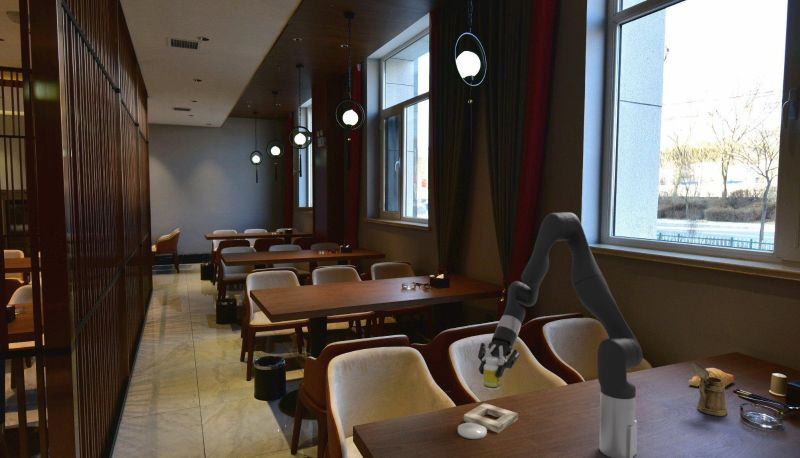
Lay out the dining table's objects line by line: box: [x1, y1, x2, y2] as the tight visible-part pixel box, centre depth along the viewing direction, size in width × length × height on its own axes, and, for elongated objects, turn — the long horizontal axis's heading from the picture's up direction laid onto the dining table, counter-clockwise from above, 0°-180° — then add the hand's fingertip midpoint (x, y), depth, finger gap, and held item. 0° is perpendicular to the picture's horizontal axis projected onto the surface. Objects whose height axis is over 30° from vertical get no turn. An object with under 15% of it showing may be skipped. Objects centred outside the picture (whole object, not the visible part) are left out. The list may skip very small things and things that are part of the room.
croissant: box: [688, 367, 736, 387], centre depth 193 cm, size 21×10×8 cm, turn 104°
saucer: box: [457, 422, 488, 440], centre depth 151 cm, size 9×9×1 cm
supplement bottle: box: [483, 357, 501, 391], centre depth 159 cm, size 5×5×10 cm
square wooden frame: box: [463, 402, 519, 434], centre depth 160 cm, size 13×13×2 cm
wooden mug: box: [690, 362, 728, 417], centre depth 167 cm, size 9×14×18 cm, turn 110°
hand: (489, 374), depth 158 cm, fingers closed on supplement bottle, 5 cm apart
